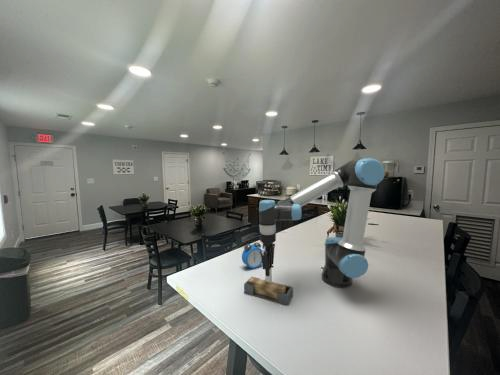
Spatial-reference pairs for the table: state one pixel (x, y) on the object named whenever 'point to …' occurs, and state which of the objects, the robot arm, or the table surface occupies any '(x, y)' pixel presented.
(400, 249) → the table surface
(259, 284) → the long wooden block
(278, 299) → the gray cradle tray
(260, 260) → the alarm clock
